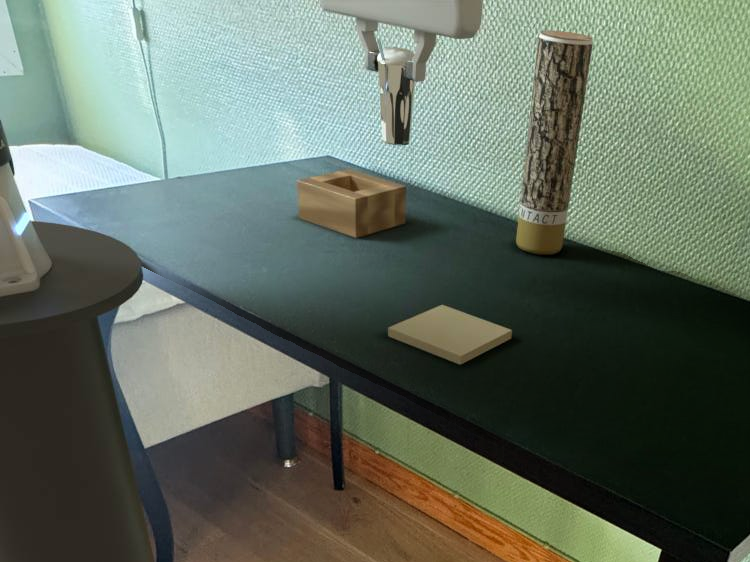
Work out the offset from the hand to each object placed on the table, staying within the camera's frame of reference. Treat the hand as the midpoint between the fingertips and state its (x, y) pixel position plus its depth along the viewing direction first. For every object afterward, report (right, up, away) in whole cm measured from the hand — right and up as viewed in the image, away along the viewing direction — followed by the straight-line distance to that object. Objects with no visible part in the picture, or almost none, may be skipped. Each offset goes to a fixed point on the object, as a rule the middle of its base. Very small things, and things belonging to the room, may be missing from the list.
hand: (395, 75), depth 90 cm
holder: (-9, -2, +27) cm, 29 cm away
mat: (+6, -30, 0) cm, 30 cm away
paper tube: (+18, -7, +26) cm, 32 cm away
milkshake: (-1, -5, +5) cm, 7 cm away
